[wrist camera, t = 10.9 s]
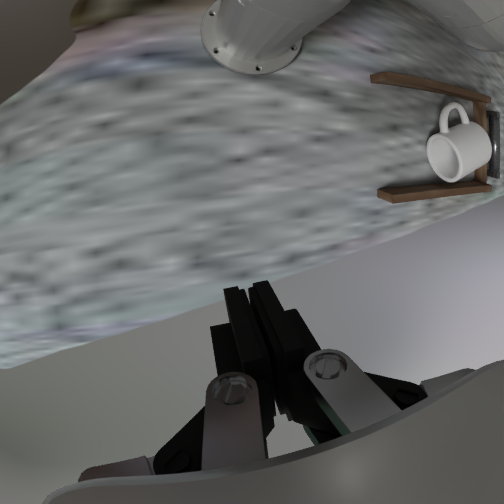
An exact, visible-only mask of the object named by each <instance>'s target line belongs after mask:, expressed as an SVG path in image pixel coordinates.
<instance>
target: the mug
mask: <svg viewBox="0 0 504 504" xmlns="http://www.w3.org/2000/svg"><path fill="white" fill-rule="evenodd" d="M454 108H456V109H457V110H458V112H459V114H460V117H461V121H462V123H461V124H458V125H456V126H453V127H451V128H448V115H449V113H450V111H451V110H452V109H454ZM439 127H440V132H439V133H436V134H434V135H432V136H431V137H430V138H429V139H428V142H427V146H426V151H427V157H428V160H429V163H430V165H431V167H432V169H433V170H434V171H435V173H436V174H437V175H438V176H439V177H440V178H441V179H443V180H445V181H447V182H456V181H458V180H459V179H461V178H463V177H464V176H466V175H468V174H469V173H471V172H473V171H474V170H476V169H478V168H479V167H481V166H483V165H484V164H486V163H487V162H488V161H489V160H490V158H491V154H492V146H491V142H490V139H489V136H488V135H487V133H486V131H485V130H484V129H483V128H482V127H481V126H480V125H479V124H477V123H475V122H472V121H469V118H468V115H467V113H466V111H465V109H464V108H463V107H462V105H460V104H459V103H457V102H451V103H449V104H447V105H446V106H445V107H444V108H443V109H442V111H441V114H440V118H439Z"/></svg>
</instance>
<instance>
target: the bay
mask: <svg viewBox="0 0 504 504" xmlns="http://www.w3.org/2000/svg"><path fill="white" fill-rule="evenodd" d="M370 78H371V83H376V84H385V85H393V86H400V87H407V88H413V89H419V90H425V91H430V92H435V93H440V94H445V95H449V96H453V97H458V98H462V99H466V100H469V101H473V107H474V122H475V123H477V124H479V125H480V126H481V127H482V128H483V129H484V130H485V131H486V133H487V117H489V139H490V142H491V146H492V154H491V158H490V160H489V169H487V163H486V164H484V165H483V166H481V167H479V168H478V169H476V170H475V179H474V181H466V182H452V183H439V184H427V185H416V186H405V187H395V188H386V189H378V195H377V197H378V198H381V199H383V200H386V201H388V202H391V203H393V204H394V203H401V202H408V201H416V200H424V199H431V198H439V197H447V196H455V195H464V194H472V193H481V192H490V191H491V190H492V185H489V184H486V181H487V176H490V177H494V178H497V179H498V178H500V172H499V170H500V124H499V118H500V113H499V112H496V111H486V103H491V97H489V96H486V95H483V94H480V93H477V92H473V91H470V90H467V89H464V88H460V87H457V86H453V85H449V84H445V83H441V82H437V81H433V80H429V79H424V78H419V77H414V76H409V75H404V74H398V73H392V72H382V73H378V74H373V75H370Z"/></svg>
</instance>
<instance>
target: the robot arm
mask: <svg viewBox="0 0 504 504" xmlns="http://www.w3.org/2000/svg"><path fill="white" fill-rule="evenodd" d="M350 1H351V0H217V1H215V2H214V3H213V4H212V5H211V6H210V7H209V9H208V10H207V11H206V13H205V15H204V17H203V21H202V25H201V37H202V41H203V44H204V47H205V48H206V50H207V52H208V53H209V55H210V56H211V57H212V58H213V59H214V60H215V61H216V62H217V63H219V64H220V65H222V66H223V67H225V68H227V69H229V70H231V71H233V72H237V73H240V74H245V75H264V74H270V73H272V72H275V71H278V70H280V69H281V68H283V67H285V66H286V65H287V64H289V63H290V62H291V61H292V60H293V59H294V58H295V57H296V55H297V54H298V52H299V50H300V47H301V44H302V37H304V36H305V35H306V34H308V33H309V32H310V31H312V30H313V29H315V28H316V27H317V26H319V25H320V24H322V23H323V22H324V21H326V20H327V19H329V18H330V17H332V16H333V15H335V14H336V13H337V12H339V11H340V10H341V9H343V8H344V7H345V6H346V5H347V4H348V3H349V2H350ZM407 1H408V2H410V3H411V4H413V5H414V6H415V7H417V8H418V9H419V10H421V11H422V12H423V13H425V14H426V15H427V16H429V17H430V18H431V19H433V20H434V21H435V22H436V23H438V24H439V25H440V26H441V27H443V28H444V29H445V30H446V31H448V32H449V33H450V34H452V35H453V36H454V37H456V38H457V39H459V40H460V41H462V42H463V43H465V44H467V45H469V46H471V47H474V48H476V49H479V50H483V51H490V52H499V51H504V0H407ZM210 15H214V16H210ZM291 48H293V50H291ZM214 51H217V52H218V53H217V54H215V53H214ZM256 68H259V71H257V70H256ZM223 290H224V296H225V301H226V306H227V311H228V317H229V322H230V323H226V324H221V325H216V326H210V330H211V337H212V343H213V349H214V356H215V362H216V368H217V374H218V376H217V377H216V378H214V379H213V380H212V381H211V382H210V384H209V385H208V387H207V390H206V402H205V406H204V407H203V408H202V409H201V410H200V411H199V412H198V414H196V415H195V416H194V417H193V418H192V419H191V420H190V421H189V422H188V423H187V424H186V425H185V426H184V427H183V428H182V429H181V430H180V431H179V432H178V433H177V434H176V435H175V436H174V437H173V438H172V439H171V440H170V441H168V442H167V443H166V445H164V446H163V447H162V448H161V449H160V450H159V451H158V452H157V454H156V455H155V456H153V457H150V458H147V457H146V456H141V457H138V458H134V459H129V460H125V461H120V462H116V463H110V464H105V465H101V466H94V467H91V468H88V469H86V470H85V471H83V472H82V473H81V475H80V477H79V479H78V482H77V483H73V484H70V485H67V486H64V487H62V488H60V489H57V490H56V491H54V492H52V493H51V494H50V495H48V496H47V498H46V499H45V500H44V501H43V504H504V360H501V361H496V362H494V363H491V364H488V365H486V366H483V367H481V368H479V369H477V370H474V369H469V368H467V369H461V370H458V371H455V372H452V373H449V374H446V375H442V376H439V377H435V378H432V379H428V380H424V381H421V383H420V385H417V384H414V383H411V382H407V381H402V380H398V379H393V378H388V377H384V376H380V375H375V374H371V373H367V372H363V371H362V370H361V369H360V368H359V367H358V366H357V365H356V364H355V363H354V362H353V360H351V358H350V357H349V356H347V355H346V354H345V353H343V352H341V351H338V350H333V349H323V350H321V348H320V347H319V345H318V343H317V342H316V340H315V338H314V337H313V335H312V334H311V332H310V330H309V329H308V327H307V325H306V324H305V322H304V321H303V319H302V317H301V316H300V314H299V312H298V311H297V310H296V309H291V310H286V311H284V309H283V307H282V306H281V304H280V302H279V300H278V298H277V296H276V294H275V293H274V291H273V289H272V287H271V286H270V284H269V282H268V280H266V281H261V282H256V283H253V287H250V288H248V292H249V299H250V303H249V300H248V298H247V295H246V292H245V290H244V289H240V290H239V288H238V286H236V287H231V288H226V289H223ZM274 399H275V400H274ZM275 401H276V404H277V407H278V410H279V412H280V414H281V415H282V414H286V415H287V418H288V420H289V421H291V420H293V421H294V422H297V423H299V424H302V425H303V428H304V430H305V432H306V433H307V435H308V436H309V438H310V439H311V441H312V442H313V444H314V445H315V446H313V447H309V448H306V449H303V450H299V451H296V452H292V453H288V454H285V455H281V456H277V457H273V458H268V449H267V440H266V437H267V436H268V435H269V433H270V432H271V431H272V429H273V428H274V416H276V409H275Z"/></svg>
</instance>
